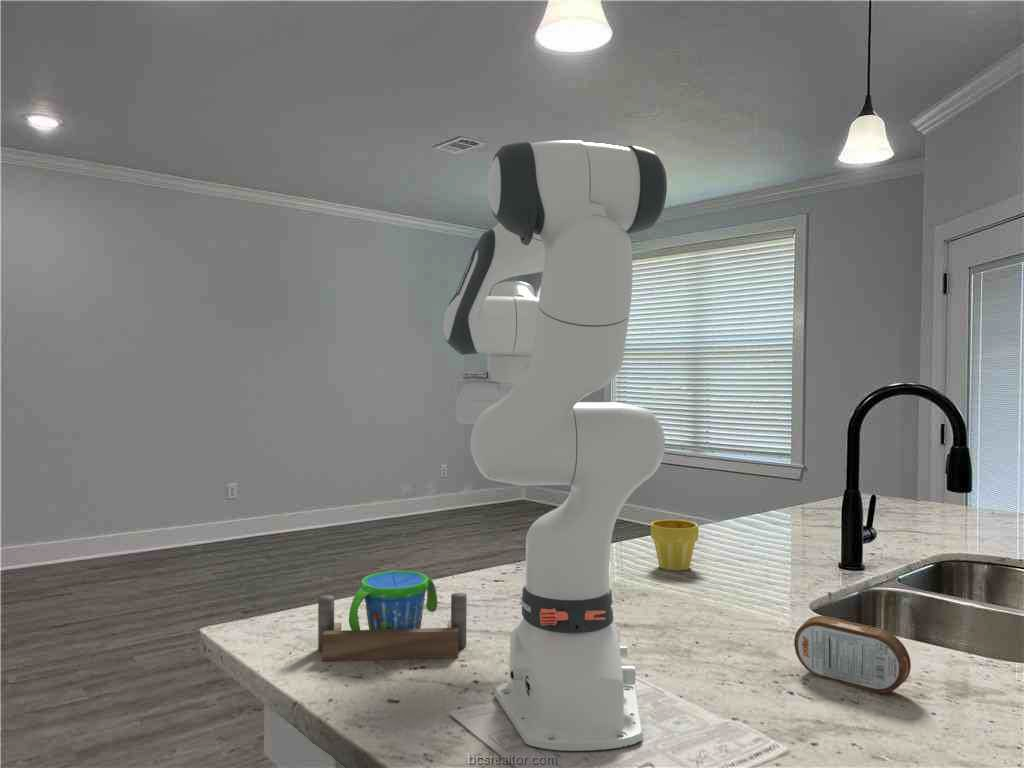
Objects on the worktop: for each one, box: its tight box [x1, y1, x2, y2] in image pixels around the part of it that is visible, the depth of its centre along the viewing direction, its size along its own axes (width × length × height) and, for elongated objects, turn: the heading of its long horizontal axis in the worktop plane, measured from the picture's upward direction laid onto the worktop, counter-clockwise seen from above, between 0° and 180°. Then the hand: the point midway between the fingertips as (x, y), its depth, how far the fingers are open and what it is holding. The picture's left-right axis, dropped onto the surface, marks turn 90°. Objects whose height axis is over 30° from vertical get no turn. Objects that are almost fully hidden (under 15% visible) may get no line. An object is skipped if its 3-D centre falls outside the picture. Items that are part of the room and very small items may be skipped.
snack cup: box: [348, 570, 438, 630], centre depth 121 cm, size 16×10×10 cm
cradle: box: [317, 592, 468, 662], centre depth 119 cm, size 10×23×8 cm, turn 95°
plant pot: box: [650, 519, 699, 572], centre depth 170 cm, size 10×10×10 cm
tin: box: [793, 615, 912, 694], centre depth 106 cm, size 15×3×8 cm, turn 48°
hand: (511, 448), depth 139 cm, fingers closed
